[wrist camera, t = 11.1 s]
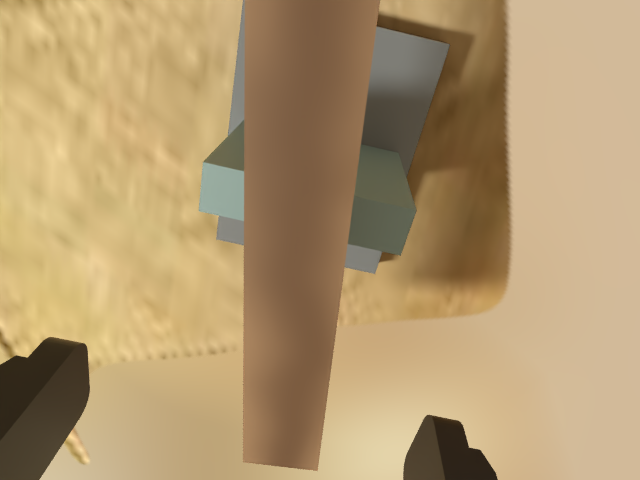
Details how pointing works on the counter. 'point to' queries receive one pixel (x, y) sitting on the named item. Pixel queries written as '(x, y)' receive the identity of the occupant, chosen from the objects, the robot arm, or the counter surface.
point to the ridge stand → (375, 152)
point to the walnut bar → (298, 210)
